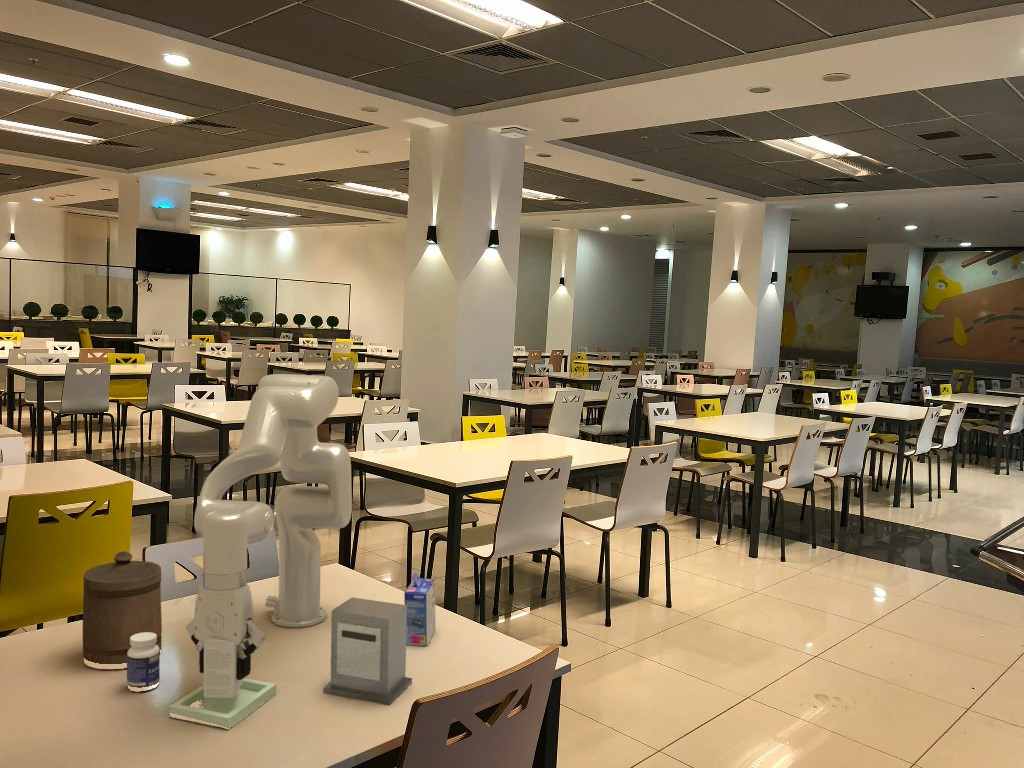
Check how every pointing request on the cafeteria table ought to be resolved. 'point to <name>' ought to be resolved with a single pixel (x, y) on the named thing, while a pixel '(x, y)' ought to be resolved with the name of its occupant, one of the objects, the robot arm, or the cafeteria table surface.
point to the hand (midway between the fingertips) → (224, 672)
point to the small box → (220, 668)
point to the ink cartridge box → (420, 611)
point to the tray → (225, 703)
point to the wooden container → (120, 607)
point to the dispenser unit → (368, 651)
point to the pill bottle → (143, 660)
